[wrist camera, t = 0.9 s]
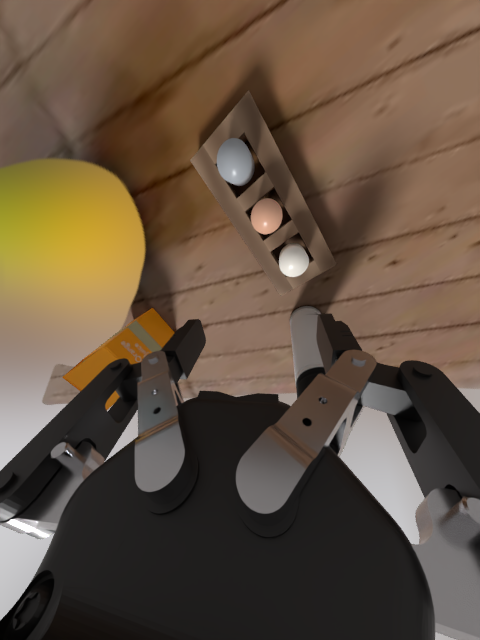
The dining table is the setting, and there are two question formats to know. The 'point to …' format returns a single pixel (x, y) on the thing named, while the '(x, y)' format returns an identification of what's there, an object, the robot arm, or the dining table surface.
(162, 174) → the dining table surface
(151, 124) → the dining table surface
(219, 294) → the dining table surface
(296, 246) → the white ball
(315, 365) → the travel mug
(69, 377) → the orange juice
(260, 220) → the peach egg
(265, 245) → the tan frame
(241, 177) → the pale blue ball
